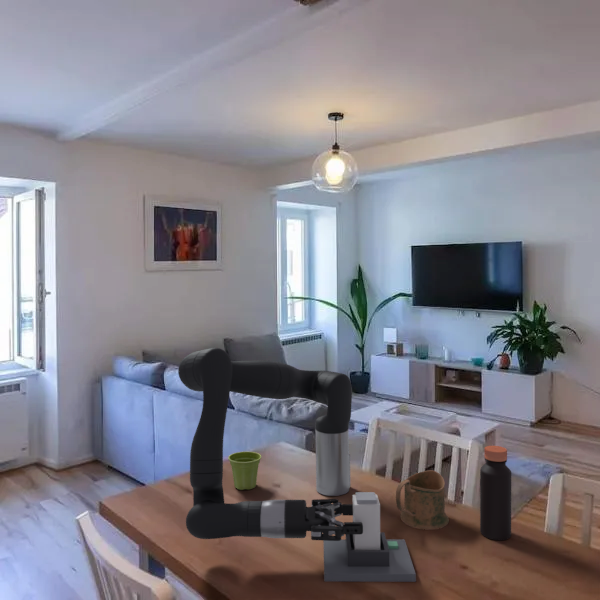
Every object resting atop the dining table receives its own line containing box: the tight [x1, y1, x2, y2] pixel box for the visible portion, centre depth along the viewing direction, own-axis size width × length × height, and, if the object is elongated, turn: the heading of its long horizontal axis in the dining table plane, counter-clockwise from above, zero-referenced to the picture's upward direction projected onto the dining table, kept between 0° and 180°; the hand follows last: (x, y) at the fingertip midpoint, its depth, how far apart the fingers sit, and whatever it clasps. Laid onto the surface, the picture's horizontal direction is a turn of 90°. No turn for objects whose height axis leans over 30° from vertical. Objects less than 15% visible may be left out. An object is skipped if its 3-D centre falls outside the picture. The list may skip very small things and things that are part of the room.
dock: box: [322, 531, 417, 583], centre depth 115 cm, size 18×14×4 cm
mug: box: [395, 469, 450, 531], centre depth 133 cm, size 12×18×12 cm, turn 137°
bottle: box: [479, 445, 512, 541], centre depth 127 cm, size 7×7×20 cm
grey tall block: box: [352, 491, 381, 550], centre depth 115 cm, size 5×5×13 cm
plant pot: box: [227, 451, 262, 491], centre depth 157 cm, size 9×9×9 cm
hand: (361, 518), depth 115 cm, fingers open, 8 cm apart
